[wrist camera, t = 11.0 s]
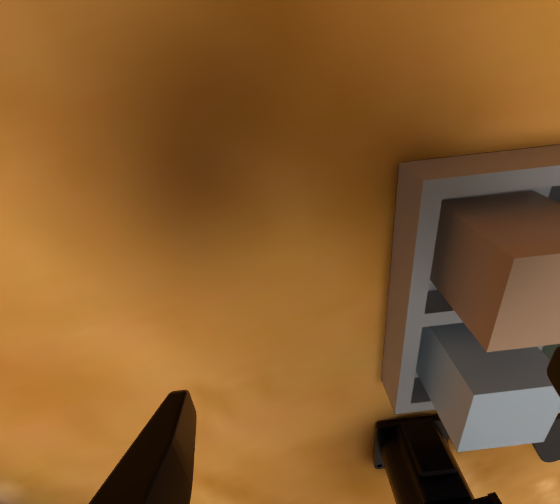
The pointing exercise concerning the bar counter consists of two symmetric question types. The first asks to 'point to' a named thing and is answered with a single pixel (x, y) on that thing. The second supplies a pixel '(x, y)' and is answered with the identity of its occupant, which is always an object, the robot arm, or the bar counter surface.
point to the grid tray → (421, 246)
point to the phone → (550, 443)
